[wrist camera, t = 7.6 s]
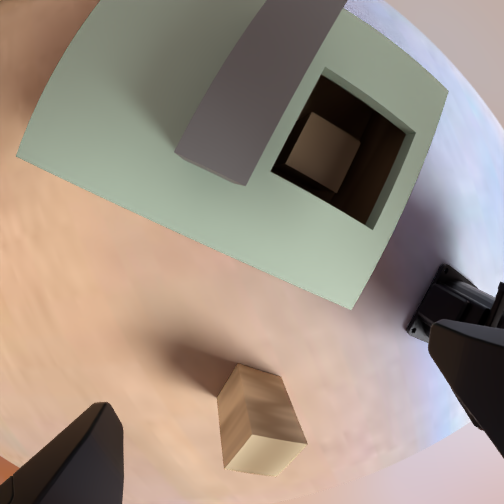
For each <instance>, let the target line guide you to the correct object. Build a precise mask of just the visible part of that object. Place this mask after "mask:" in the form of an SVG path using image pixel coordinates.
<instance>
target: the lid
mask: <svg viewBox="0 0 504 504" xmlns="http://www.w3.org/2000/svg"><path fill="white" fill-rule="evenodd" d="M346 2H347V0H100V1H99V3H98V4H97V5H96V7H95V8H94V9H93V11H92V12H91V13H90V15H89V16H88V18H87V19H86V20H85V22H84V23H83V25H82V26H81V28H80V29H79V30H78V32H77V33H76V35H75V37H74V38H73V40H72V41H71V43H70V44H69V46H68V48H67V49H66V51H65V52H64V54H63V56H62V57H61V59H60V61H59V63H58V64H57V66H56V68H55V70H54V72H53V73H52V75H51V77H50V79H49V81H48V83H47V85H46V87H45V89H44V91H43V93H42V95H41V97H40V99H39V101H38V103H37V105H36V107H35V110H34V112H33V114H32V116H31V119H30V121H29V123H28V126H27V128H26V131H25V133H24V136H23V138H22V141H21V143H20V146H19V149H18V152H17V154H16V157H18V158H20V159H22V160H24V161H26V162H28V163H31V164H33V165H35V166H37V167H39V168H41V169H43V170H45V171H47V172H49V173H51V174H53V175H55V176H58V177H60V178H62V179H64V180H66V181H68V182H70V183H72V184H74V185H76V186H79V187H81V188H83V189H85V190H87V191H89V192H91V193H93V194H95V195H98V196H100V197H102V198H104V199H106V200H108V201H110V202H112V203H115V204H117V205H119V206H121V207H123V208H125V209H127V210H130V211H132V212H134V213H136V214H138V215H140V216H143V217H145V218H147V219H149V220H151V221H153V222H155V223H158V224H160V225H162V226H164V227H166V228H168V229H171V230H173V231H175V232H177V233H179V234H182V235H184V236H186V237H188V238H190V239H192V240H195V241H197V242H199V243H201V244H203V245H206V246H208V247H210V248H212V249H214V250H217V251H219V252H221V253H223V254H225V255H228V256H230V257H232V258H234V259H237V260H239V261H241V262H243V263H245V264H248V265H250V266H252V267H254V268H257V269H259V270H261V271H263V272H266V273H268V274H270V275H272V276H275V277H277V278H279V279H281V280H283V281H286V282H288V283H290V284H293V285H295V286H297V287H299V288H302V289H304V290H306V291H308V292H311V293H313V294H315V295H317V296H320V297H322V298H324V299H327V300H329V301H331V302H333V303H336V304H338V305H340V306H343V307H345V308H347V309H349V310H352V308H353V306H354V305H355V303H356V301H357V299H358V298H359V296H360V294H361V292H362V291H363V289H364V287H365V285H366V283H367V282H368V280H369V278H370V276H371V274H372V272H373V271H374V269H375V267H376V265H377V263H378V261H379V259H380V257H381V255H382V253H383V251H384V249H385V247H386V245H387V243H388V241H389V239H390V237H391V235H392V233H393V231H394V229H395V227H396V225H397V223H398V221H399V218H400V216H401V214H402V212H403V210H404V208H405V205H406V203H407V201H408V199H409V196H410V194H411V192H412V189H413V187H414V185H415V182H416V180H417V178H418V175H419V173H420V170H421V168H422V165H423V163H424V160H425V158H426V155H427V153H428V150H429V147H430V145H431V142H432V139H433V136H434V134H435V131H436V128H437V125H438V122H439V119H440V116H441V113H442V110H443V107H444V104H445V101H446V98H447V94H448V90H447V89H446V88H445V87H444V86H443V85H442V84H441V83H440V82H439V81H438V80H437V79H436V78H434V77H433V76H432V75H431V74H430V73H429V72H428V71H427V70H426V69H425V68H423V67H422V66H421V65H420V64H419V63H418V62H417V61H415V60H414V59H413V58H412V57H411V56H409V55H408V54H407V53H406V52H405V51H403V50H402V49H401V48H400V47H398V46H397V45H396V44H394V43H393V42H392V41H391V40H389V39H388V38H387V37H385V36H384V35H383V34H381V33H380V32H378V31H377V30H376V29H374V28H373V27H371V26H370V25H368V24H367V23H365V22H364V21H362V20H361V19H359V18H358V17H356V16H355V15H353V14H352V13H350V12H349V11H347V10H345V9H344V8H343V7H344V5H345V4H346ZM321 74H322V75H323V76H325V77H327V78H328V79H330V80H332V81H333V82H335V83H336V84H338V85H339V86H341V87H342V88H344V89H346V90H347V91H349V92H350V93H352V94H353V95H354V96H356V97H357V98H359V99H360V100H362V101H363V102H365V103H366V104H367V105H369V106H370V107H372V108H373V109H374V110H376V111H377V112H378V113H380V114H381V115H382V116H384V117H385V118H386V119H388V120H389V121H390V122H392V123H393V124H394V125H395V126H397V127H398V128H399V129H400V130H402V131H403V132H404V133H405V134H406V136H405V138H404V140H403V143H402V145H401V148H400V150H399V152H398V155H397V157H396V159H395V162H394V164H393V166H392V169H391V171H390V173H389V175H388V178H387V180H386V182H385V184H384V186H383V189H382V191H381V193H380V195H379V197H378V199H377V201H376V204H375V206H374V208H373V210H372V212H371V214H370V216H369V218H368V220H367V222H366V224H365V225H363V224H362V223H360V222H359V221H357V220H355V219H354V218H352V217H350V216H349V215H347V214H345V213H344V212H342V211H340V210H338V209H337V208H335V207H333V206H332V205H330V204H328V203H326V202H325V201H323V200H321V199H319V198H318V197H316V196H314V195H312V194H311V193H309V192H307V191H305V190H303V189H302V188H300V187H298V186H296V185H294V184H293V183H291V182H289V181H287V180H285V179H283V178H281V177H279V176H278V175H276V174H274V173H272V172H270V171H271V169H272V167H273V165H274V163H275V161H276V159H277V157H278V155H279V153H280V151H281V150H282V148H283V146H284V144H285V142H286V140H287V138H288V136H289V134H290V132H291V130H292V128H293V126H294V125H295V123H296V121H297V119H298V117H299V115H300V113H301V111H302V109H303V107H304V105H305V104H306V102H307V100H308V98H309V96H310V94H311V92H312V90H313V88H314V87H315V85H316V83H317V81H318V79H319V77H320V75H321Z"/></svg>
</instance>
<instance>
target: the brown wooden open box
mask: <svg viewBox="0 0 504 504" xmlns="http://www.w3.org/2000/svg"><path fill="white" fill-rule="evenodd" d="M405 136H406V134H405V133H404V132H403V131H402V130H400V129H399V128H398V127H397V126H395V125H394V124H393V123H392V122H390V121H389V120H388V119H386V118H385V117H384V116H382V115H381V114H380V113H378V112H377V111H376V110H374V109H373V108H372V107H370V106H369V105H367V104H366V103H365V102H363V101H362V100H360V99H359V98H357V97H356V96H354V95H353V94H352V93H350V92H349V91H347V90H346V89H344V88H342V87H341V86H339V85H338V84H336V83H335V82H333V81H332V80H330V79H328V78H327V77H325V76H323V75H322V74H321V75H320V77H319V79H318V81H317V83H316V85H315V87H314V88H313V90H312V92H311V94H310V96H309V98H308V100H307V102H306V104H305V105H304V107H303V109H302V111H301V113H300V115H299V117H298V119H297V121H296V123H295V125H294V126H293V128H292V130H291V132H290V134H289V136H288V138H287V140H286V142H285V144H284V146H283V148H282V150H281V151H280V153H279V155H278V157H277V159H276V161H275V163H274V165H273V167H272V169H271V171H270V172H272V173H274V174H276V175H278V176H279V177H281V178H283V179H285V180H287V181H289V182H291V183H293V184H294V185H296V186H298V187H300V188H302V189H303V190H305V191H307V192H309V193H311V194H312V195H314V196H316V197H318V198H319V199H321V200H323V201H325V202H326V203H328V204H330V205H332V206H333V207H335V208H337V209H338V210H340V211H342V212H344V213H345V214H347V215H349V216H350V217H352V218H354V219H355V220H357V221H359V222H360V223H362V224H363V225H365V224H366V222H367V220H368V218H369V216H370V214H371V212H372V210H373V208H374V206H375V204H376V201H377V199H378V197H379V195H380V193H381V191H382V189H383V186H384V184H385V182H386V180H387V178H388V175H389V173H390V171H391V169H392V166H393V164H394V162H395V159H396V157H397V155H398V152H399V150H400V148H401V145H402V143H403V140H404V138H405Z"/></svg>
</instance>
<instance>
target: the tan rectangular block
mask: <svg viewBox="0 0 504 504" xmlns="http://www.w3.org/2000/svg"><path fill="white" fill-rule="evenodd" d="M217 404H218V415H219V425H220V435H221V445H222V454H223V463H224V469H227V470H232V471H238V472H244V473H250V474H257V475H265V476H273V477H277V476H278V475H279V474H280V473H281V472H282V471H283V470H284V469H285V468H286V467H287V466H288V465H289V464H290V463H291V462H292V461H293V460H294V459H295V458H296V457H297V455H298V454H299V453H300V452H301V451H302V450H303V449H304V448H305V447H306V446H307V445H308V443H307V441H306V438H305V436H304V434H303V431H302V429H301V426H300V424H299V421H298V419H297V416H296V413H295V411H294V408H293V406H292V403H291V401H290V398H289V396H288V393H287V391H286V388H285V386H284V383H283V380H282V378H281V377H280V376H276V375H273V374H270V373H266V372H263V371H260V370H257V369H254V368H251V367H248V366H245V365H242V364H239V363H237V365H236V367H235V369H234V370H233V372H232V374H231V375H230V377H229V379H228V380H227V382H226V384H225V385H224V387H223V389H222V390H221V392H220V394H219V395H218V397H217Z"/></svg>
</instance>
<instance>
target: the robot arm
mask: <svg viewBox="0 0 504 504" xmlns="http://www.w3.org/2000/svg"><path fill="white" fill-rule="evenodd" d="M444 270H445V271H444ZM412 329H413V330H412ZM407 333H408V334H409V335H410V336H413V337H415V338H417V339H420V340H422V341H424V342H427V343H429V344H428V351H429V354H430V356H431V357H432V359H433V360H434V362H435V363H436V365H437V366H438V368H439V369H440V371H441V372H442V374H443V376H444V377H445V379H446V380H447V382H448V383H449V385H450V387H451V389H452V391H453V392H454V394H455V396H456V397H457V399H458V401H459V402H460V404H461V405H462V407H463V408H464V410H465V412H466V413H467V415H468V416H469V418H470V420H471V421H472V423H473V424H474V426H476V427H478V428H479V429H480V430H484V431H485V433H486V434H487V436H488V437H489V438H490V440H491V441H492V442H493V444H494V445H495V447H496V448H497V450H498V451H499V452H500V454H501V455H502V457H503V458H504V283H503V282H500V284H499V286H498V292H497V295H496V298H495V297H493V296H491V295H489V294H487V293H485V292H483V291H481V290H479V289H478V288H477V287H476V286H475V285H473V284H472V283H471V282H470V281H468V280H467V279H466V278H465V277H463V276H462V275H461V274H460V273H458V272H457V271H456V270H455V269H453V268H452V267H451V266H449V265H447V264H445V263H444V264H442V265H441V266H440V268H439V270H438V272H437V274H436V276H435V278H434V280H433V282H432V284H431V286H430V288H429V290H428V292H427V294H426V296H425V298H424V299H423V301H422V303H421V305H420V307H419V308H418V310H417V312H416V314H415V315H414V317H413V319H412V321H411V322H410V324H409V326H408V327H407ZM123 484H124V456H123V426H122V424H121V422H120V420H119V418H118V416H117V415H116V413H115V411H114V409H113V408H112V406H111V405H110V404H109V403H108V402H97V403H94V404H92V405H91V406H90V407H89V408H88V409H87V410H86V411H84V412H83V413H82V414H81V415H80V416H79V417H78V418H77V419H75V420H74V421H73V422H72V423H71V424H70V425H69V426H68V427H66V428H65V429H64V430H63V431H62V432H61V433H60V434H58V435H57V436H56V437H55V438H54V439H53V440H52V441H50V442H49V443H48V444H47V445H46V446H45V447H44V448H43V449H41V450H40V451H39V452H38V453H37V454H36V455H35V456H33V457H32V458H31V459H30V460H29V461H28V462H27V463H25V464H24V465H23V466H22V467H21V468H20V469H19V470H17V471H16V472H15V473H14V474H13V476H10V477H9V478H8V479H7V480H6V481H5V482H4V483H3V484H1V485H0V504H122V497H123Z"/></svg>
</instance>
